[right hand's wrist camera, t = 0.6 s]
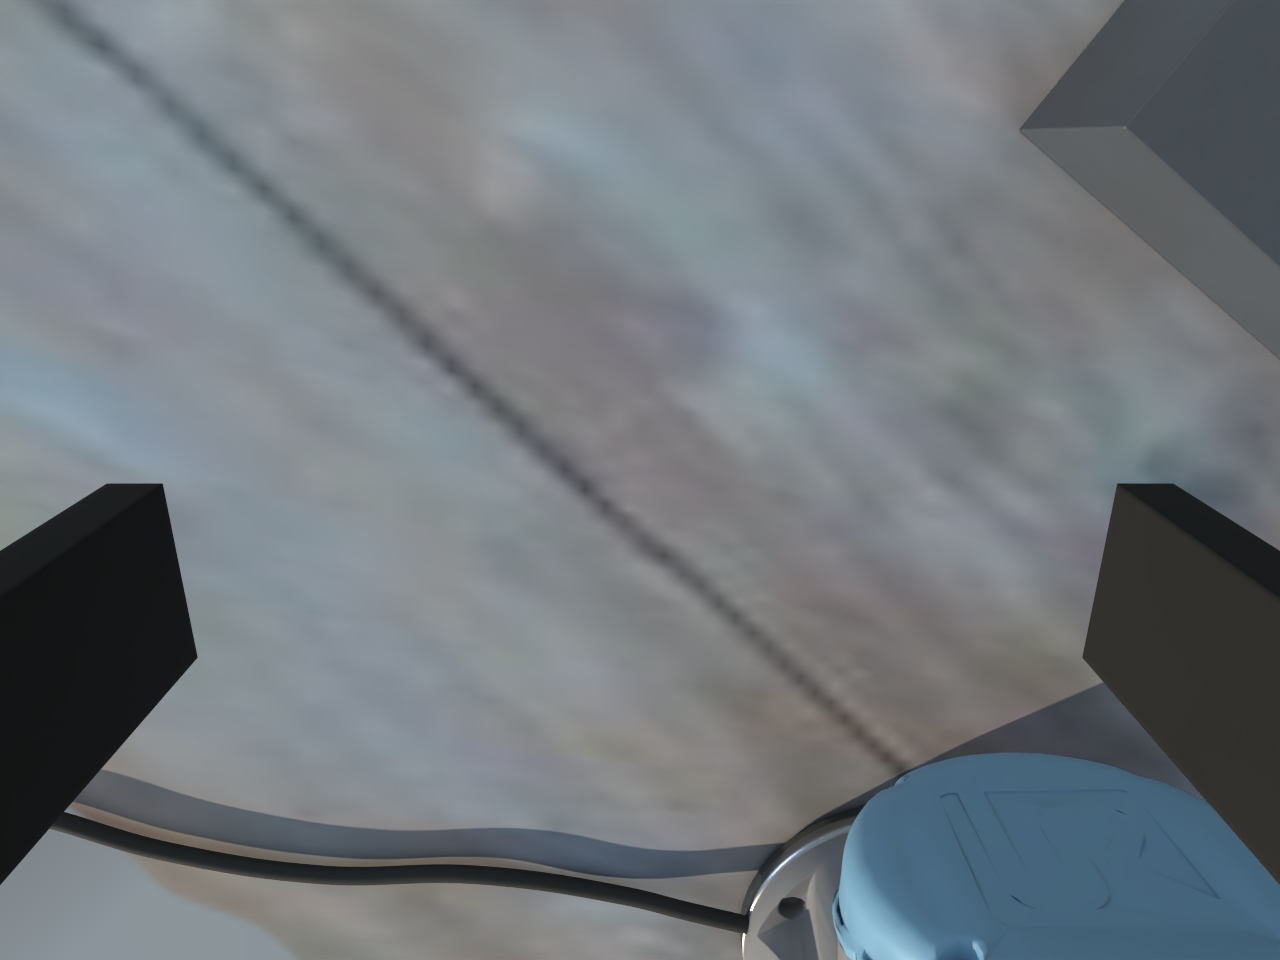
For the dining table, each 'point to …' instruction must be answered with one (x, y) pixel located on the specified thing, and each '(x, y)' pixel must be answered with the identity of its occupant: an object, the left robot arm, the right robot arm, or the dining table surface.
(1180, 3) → the beam
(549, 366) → the dining table surface
